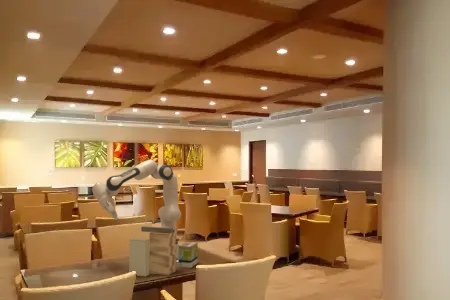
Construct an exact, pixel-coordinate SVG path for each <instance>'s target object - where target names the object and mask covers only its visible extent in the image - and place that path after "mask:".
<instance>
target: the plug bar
mask: <svg viewBox="0 0 450 300" xmlns="http://www.w3.org/2000/svg"><path fill="white" fill-rule="evenodd" d="M140 229H141V230H140V231H141V232H142V233H143V232H147V233H151V230H160V231H170V233H173V228H166V227H162V226H161V227H160V226H146V225H145V226H141V227H140Z"/></svg>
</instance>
